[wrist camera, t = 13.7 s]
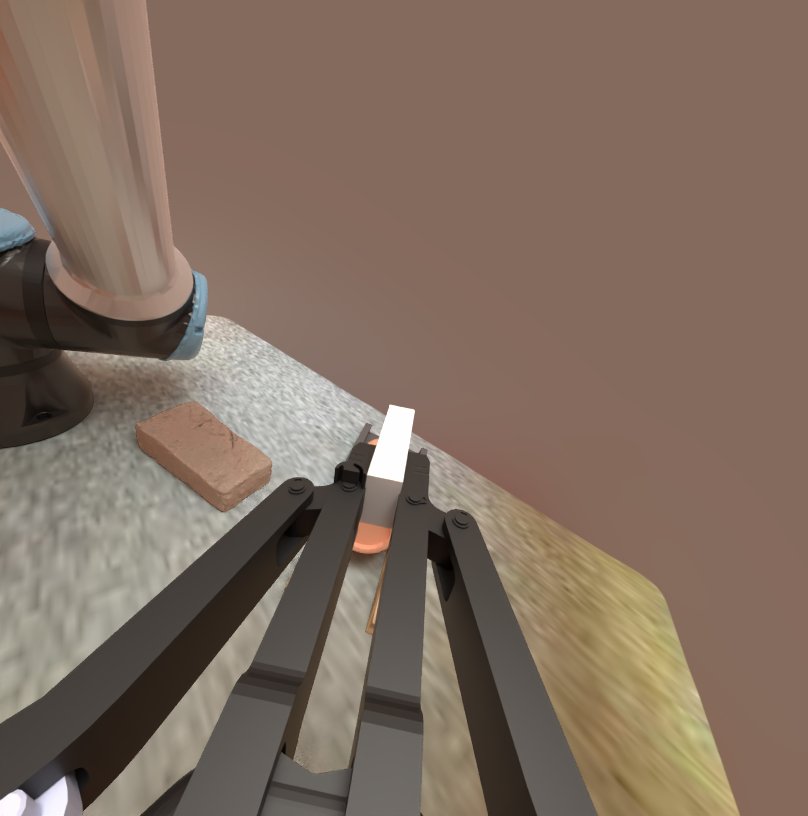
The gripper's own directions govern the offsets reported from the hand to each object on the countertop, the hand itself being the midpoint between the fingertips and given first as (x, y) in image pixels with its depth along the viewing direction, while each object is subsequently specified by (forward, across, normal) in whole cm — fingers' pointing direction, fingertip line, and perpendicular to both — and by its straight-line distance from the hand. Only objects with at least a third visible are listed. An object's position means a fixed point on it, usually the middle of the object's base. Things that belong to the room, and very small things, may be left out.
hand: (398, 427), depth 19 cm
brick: (+17, -26, -23) cm, 39 cm away
